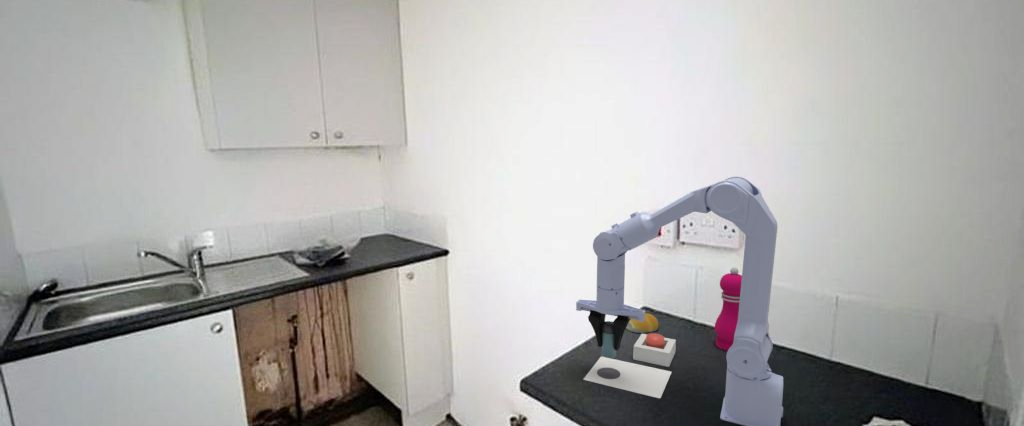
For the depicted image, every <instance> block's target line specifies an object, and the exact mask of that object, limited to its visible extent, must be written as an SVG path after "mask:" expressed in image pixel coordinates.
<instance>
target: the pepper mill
mask: <svg viewBox="0 0 1024 426" xmlns="http://www.w3.org/2000/svg"><path fill="white" fill-rule="evenodd" d="M729 271H730V272H729V273H726V274H724V275H722V276H721V278H720V280H719V287H720V289H721V290H722V291H721V296H720V298H721V299H722V307H721V308H722V309H721V311H720V313H719V315H718V317H717V318H716V320H715V323H714V332H715V334H716V335H717V336H716V337H715V345H716V347H717V348H718V349H720V350H722V351H726V352H728V350H729V349H730V347H731V346H732V345H733V342H734V335H735V330H736V326H737V322H738V314H739V303H740V292H741V281H742V274H739V269H738V268H737V267H731V268H730V269H729Z"/></svg>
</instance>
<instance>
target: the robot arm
mask: <svg viewBox="0 0 1024 426" xmlns="http://www.w3.org/2000/svg"><path fill="white" fill-rule="evenodd" d="M710 212H711V213H713V214H715V215H716V216H718V217H720V218H722V219H724V220H727V221H729V222H731V223H732V224H734V226H736V227H737V228H738V229H739V230H740V232H742V233H743V234H744V235H745V240H744V251H743V262H742V270H741V271H742V273H741V275H742V281H741V292H740V303H739V314H738V322H737V326H736V330H735V335H734V342H733V345H732V346H731V347H730V349H729V350H728V351H726V363H727V364H726V365H727V366H726V379H725V380H726V381H725V394H724V397H723V401H722V404H721V405H722V407H721V411H720V416H719V418H720V420H721V421H726V422H730V423H733V424H737V425H741V426H781V419H782V418H783V417H784V406H783V397H784V396H783V395H784V394H783V393H784V377H783V375H779V374H776V373H774V372H772V369H771V368H770V365H769V362H768V360H769V358H770V355H771V353H772V351H773V341H772V339H771V336H770V333H769V332H770V331H769V328H770V324H769V312H770V305H771V304H770V303H771V292H772V284H773V274H774V273H773V272H774V264H775V254H776V245H777V236H778V235H777V233H778V222H777V219H776V218H775V215H774V214H773V213H772V211H771V209H770V208H769V206H768V204H767V202H766V201H765V199H764V197H763V194H762V192H761V190H760V189H759V188H758V187H757V186H756V185H754V184H753V183H752V182H751V181H749V180H748V179H746V178H745V177H743V176H731V177H729V178H728V177H727V178H725V179H724V180H721V181H718V182H715V183H712V184H709V185H707V186H704V187H701V188H698V189H695V190H693V191H690V192H689V193H686V194H685V195H683V196H681V197H680V198H678V199H677V200H675V201H673V202H670V204H668V205H666V206H663V207H662V208H660V209H659V210H657V211H655V212H653V213H649V212H648V211H641V212H638V211H635V212H633V213H631V214H629V215H630V216H629V217H630V218H628V219H626V220H624V221H622V222H620V223H619V224H618V223H617V222H616V223H614V224H612V225H611V228H610V229H609V230H605V231H602V232H600V233H598V235H597V236H596V237H594V239H593V243H592V250H593V252H594V254H595V255H596V256H597V259H596V260H597V261H596V262H597V263H596V300H590V299H589V300H588V299H577V301H576V302H575V305H576V307H575V310H576V311H577V312H578V311H579V312H582V311H585V312H589V315H587V319H588V322H589V323H590V325H591V327H592V328H593V332H594V335H595V338H596V342H597V346H598V347H599V348H602V323H603V322H606V316H607V315H608V316H614V317H616V318H615V319H614V320H613V321H612V322H613V323H614V331H615V340H614V350H616V351H618V350H620V348H621V344H622V340H623V337H624V333H625V331H626V330H627V329H626V327H627V325H628V323H629V321H630V319H635V320H638V321H640V322H643V321H644V320H645V313H646V310H645V309H641V308H638V307H633V306H631V305H627V304H625V275H626V272H625V271H626V270H625V269H626V264H625V263H626V253H628V252H629V251H631V250H634V249H637V248H638V247H639V246H641V245H644V244H646V243H648V242H650V241H652V240H654V239H655V238H656V239H657V237H658V236H659V232H660V229H661V228H663V227H664V226H666V225H669V224H671V223H673V222H675V221H677V220H679V219H682V218H684V217H686V216H688V215H691V214H692V213H701V214H709V213H710Z"/></svg>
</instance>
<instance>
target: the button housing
mask: <svg viewBox="0 0 1024 426" xmlns="http://www.w3.org/2000/svg"><path fill="white" fill-rule="evenodd" d="M647 334H648V333H640V336H639V337H638V339H637V340H636V342H635V343H634V344H633V349H632V350H633V351H632V352H633V353H632V354H633V355H632V359H633V360H635V361H640V362H643V363H648V364H653V365H658V366H662V367H667V368H670V365H671V363H672V361H673V359H674V357H675V355H676V346H677V345H676V343H677V340H676V339H673V338H669V337H664V349H660V348H655V347H650V346H646V335H647Z"/></svg>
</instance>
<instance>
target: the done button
mask: <svg viewBox="0 0 1024 426" xmlns="http://www.w3.org/2000/svg"><path fill="white" fill-rule="evenodd" d="M646 334H647V335H646V346H650V347H655V348H660V349H664V338H665V336H663V335H662V334H660V333H656V332H655V333H653V332H649V333H646Z"/></svg>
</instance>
